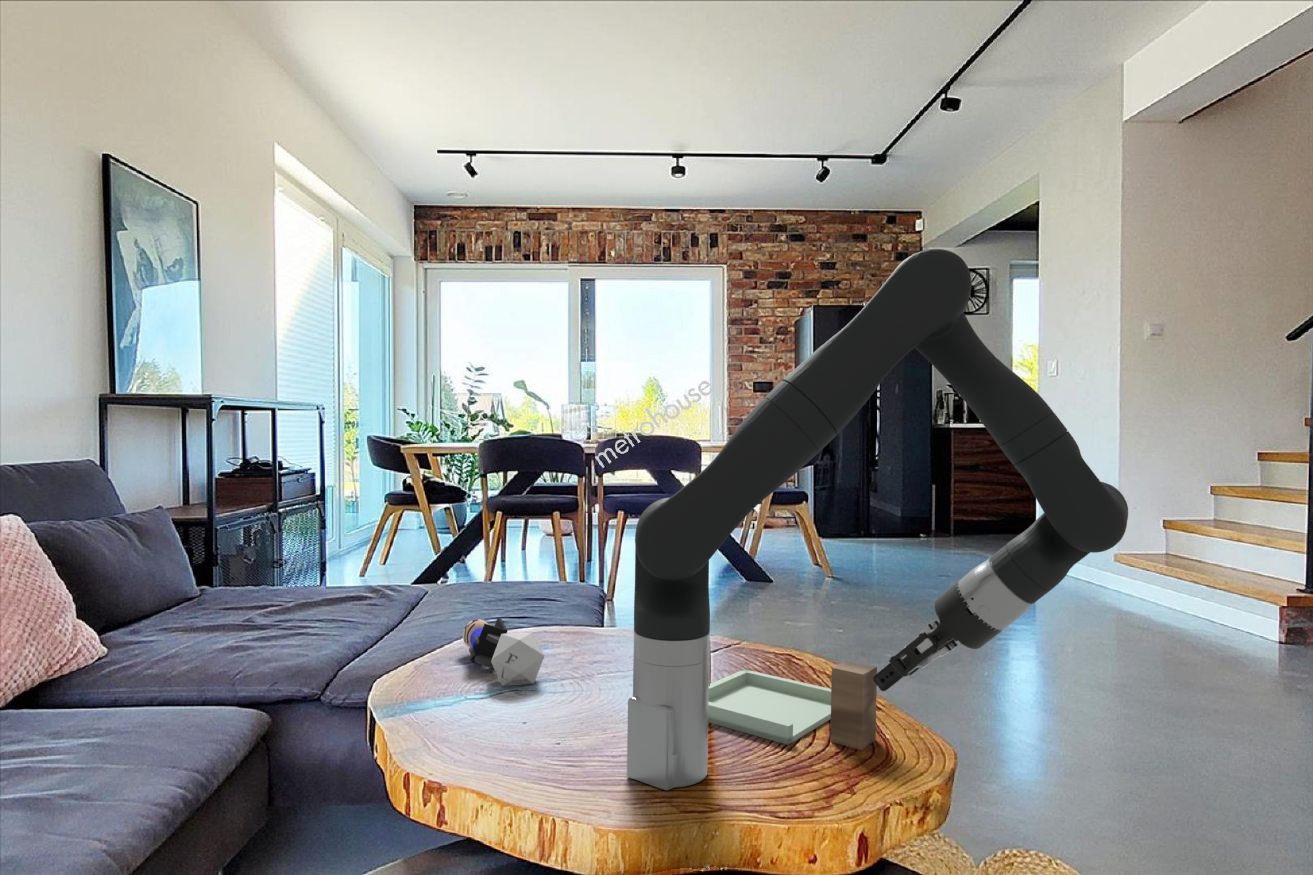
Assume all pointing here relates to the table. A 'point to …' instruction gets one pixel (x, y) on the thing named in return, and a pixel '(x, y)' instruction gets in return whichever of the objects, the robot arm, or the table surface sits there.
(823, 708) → the tray
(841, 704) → the block
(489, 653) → the character figurine
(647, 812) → the table surface
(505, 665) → the die
